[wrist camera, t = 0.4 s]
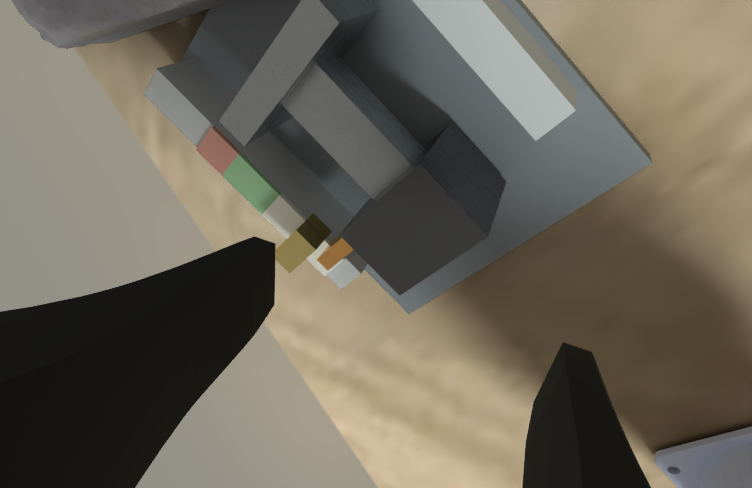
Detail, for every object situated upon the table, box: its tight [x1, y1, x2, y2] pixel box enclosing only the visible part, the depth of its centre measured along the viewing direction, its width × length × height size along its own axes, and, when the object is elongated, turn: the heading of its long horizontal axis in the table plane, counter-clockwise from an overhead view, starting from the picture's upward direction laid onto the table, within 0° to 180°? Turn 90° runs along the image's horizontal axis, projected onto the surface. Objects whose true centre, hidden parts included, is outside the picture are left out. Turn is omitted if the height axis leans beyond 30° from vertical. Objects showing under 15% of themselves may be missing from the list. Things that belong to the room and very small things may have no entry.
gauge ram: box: [219, 0, 506, 296], centre depth 17 cm, size 9×7×4 cm
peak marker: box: [275, 213, 332, 273], centre depth 19 cm, size 1×2×1 cm, turn 137°
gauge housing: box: [144, 0, 652, 314], centre depth 18 cm, size 15×12×3 cm
